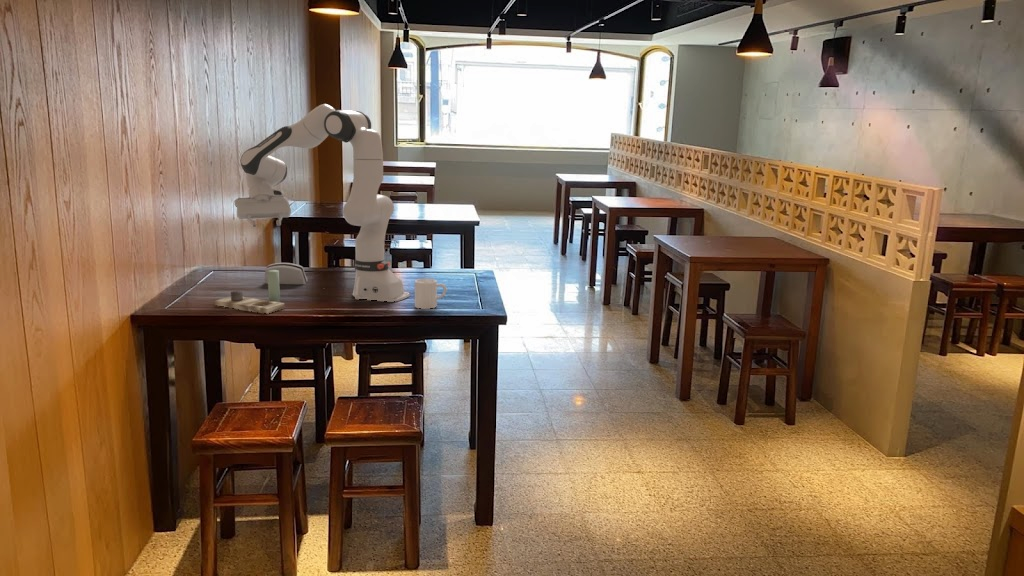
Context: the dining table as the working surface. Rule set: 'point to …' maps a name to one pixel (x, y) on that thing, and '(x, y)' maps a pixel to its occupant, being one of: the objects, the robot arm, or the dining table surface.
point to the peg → (273, 285)
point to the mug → (427, 293)
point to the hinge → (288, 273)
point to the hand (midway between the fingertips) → (266, 225)
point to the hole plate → (249, 303)
